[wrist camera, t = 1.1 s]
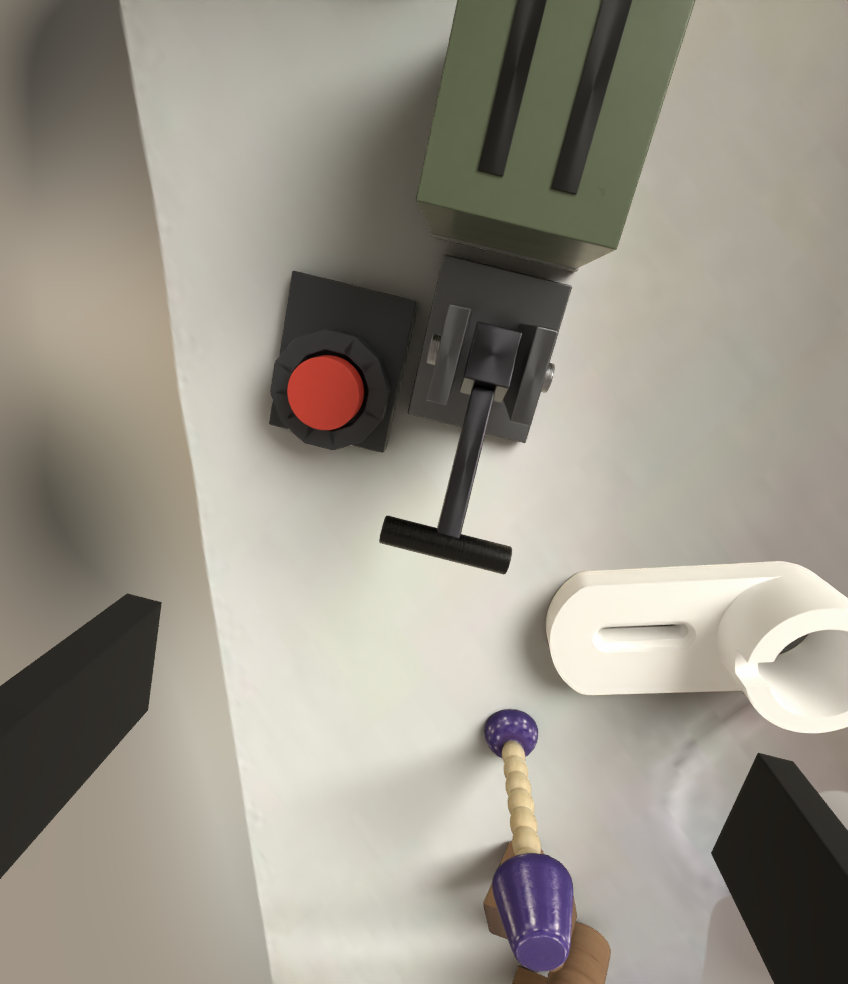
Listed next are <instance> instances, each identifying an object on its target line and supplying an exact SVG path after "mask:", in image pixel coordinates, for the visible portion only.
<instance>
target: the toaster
mask: <svg viewBox="0 0 848 984" xmlns="http://www.w3.org/2000/svg"><path fill="white" fill-rule="evenodd" d="M694 3H695V0H457V5H456V10H455V14H454V19H453V24H452V29H451V34H450V38H449V43H448V48H447V53H446V58H445V62H444V67H443V72H442V77H441V82H440V87H439V91H438V96H437V101H436V106H435V111H434V115H433V120H432V125H431V130H430V135H429V139H428V144H427V149H426V154H425V159H424V163H423V168H422V173H421V178H420V183H419V187H418V192H417V197H416V201H417V203H418V205H419V207H420V209H421V211H422V213H423V215H424V217H425V219H426V221H427V223H428V225H429V227H430V229H431V236H432V237H435V238H439V239H443V240H447V241H451V242H455V243H459V244H463V245H467V246H471V247H475V248H479V249H483V250H488V251H492V252H496V253H500V254H504V255H508V256H512V257H516V258H520V259H524V260H528V261H532V262H536V263H540V264H544V265H548V266H552V267H556V268H560V269H564V270H569V271H573V272H576V271H578V268H579V267H581V266H583V265H585V264H587V263H589V262H591V261H593V260H595V259H597V258H600V257H602V256H604V255H606V254H608V253H610V252H612V251H614V250H616V249H617V247H618V244H619V240H620V237H621V234H622V231H623V228H624V225H625V221H626V218H627V215H628V212H629V209H630V206H631V202H632V199H633V196H634V193H635V190H636V187H637V183H638V180H639V177H640V174H641V171H642V168H643V164H644V161H645V158H646V155H647V152H648V149H649V145H650V142H651V139H652V136H653V133H654V130H655V126H656V123H657V120H658V117H659V114H660V111H661V107H662V104H663V101H664V98H665V95H666V92H667V88H668V85H669V82H670V79H671V76H672V73H673V70H674V66H675V63H676V60H677V57H678V54H679V51H680V47H681V44H682V41H683V38H684V35H685V32H686V28H687V25H688V22H689V19H690V16H691V13H692V9H693V6H694Z"/></svg>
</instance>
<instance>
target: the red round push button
mask: <svg viewBox="0 0 848 984" xmlns="http://www.w3.org/2000/svg"><path fill="white" fill-rule="evenodd" d="M287 393H288V400H289V404H290V406H291V408H292V410H293V412H294V414H295V415H296V416H297V417H298V418H299V419H300V420H301V421H302V422H303V423H304V424H306V425H308V426H310V427H312V428H315V429H319V430H332V429H336V428H339V427H341V426H343V425H344V424H346V423H347V422H348V421H349V420H351V419H352V418H353V417H354V416H355V415H356V414H357V413H358V411H359V410H360V408H361V405H362V403H363V399H364V386H363V382H362V379H361V377H360V375H359V373H358V371H357V370H356V369H355V368H354V366H353V365H351V364H350V363H349V362H348V361H346V360H345V359H342V358H340V357H337V356H332V355H323V356H319V357H314V358H311V359H308V360H306V361H304V362H302V363H301V364H300V365H298V367H297V368H296V369H295V370H294V371H293V373H292V375H291V377H290V379H289V383H288V389H287Z"/></svg>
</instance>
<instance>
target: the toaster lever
mask: <svg viewBox="0 0 848 984" xmlns="http://www.w3.org/2000/svg"><path fill="white" fill-rule="evenodd" d="M522 335H523V334H522V332H518V331H514V330H510V329H506V328H502V327H498V326H494V325H490V324H486V323H482V322H477V324H476V328H475V332H474V335H473V339H472V343H471V347H470V351H469V355H468V359H467V363H466V367H465V371H464V375H463V379H462V383H461V387H460V392H461V393H464V394H468V395H470V398H469V402H468V406H467V410H466V414H465V418H464V422H463V426H462V430H461V434H460V438H459V442H458V446H457V450H456V454H455V458H454V462H453V466H452V470H451V474H450V478H449V482H448V486H447V490H446V494H445V498H444V502H443V506H442V510H441V514H440V518H439V522H438V526H437V528H435V527H431V526H427V525H423V524H419V523H415V522H411V521H407V520H403V519H399V518H395V517H391V516H386V517H385V519H384V523H383V526H382V530H381V534H380V539H379V542H380V543H382V544H386V545H390V546H394V547H398V548H402V549H405V550H409V551H413V552H417V553H421V554H425V555H429V556H433V557H437V558H441V559H445V560H449V561H453V562H457V563H461V564H465V565H469V566H473V567H477V568H480V569H484V570H488V571H492V572H496V573H500V574H506V572H507V570H508V568H509V564H510V561H511V555H512V548H511V547H510V546H506V545H502V544H498V543H494V542H490V541H486V540H482V539H478V538H475V537H471V536H467V535H463V534H461V532H462V527H463V523H464V519H465V515H466V511H467V507H468V503H469V499H470V494H471V490H472V486H473V482H474V478H475V474H476V470H477V466H478V461H479V457H480V453H481V449H482V445H483V441H484V437H485V433H486V429H487V424H488V420H489V416H490V412H491V408H492V404H493V401H496V402H502V401H503V399H504V397H505V395H506V394H507V392H508V390H509V388H510V385H511V381H512V376H513V372H514V368H515V364H516V360H517V356H518V351H519V347H520V343H521V339H522Z"/></svg>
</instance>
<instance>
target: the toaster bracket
mask: <svg viewBox="0 0 848 984" xmlns="http://www.w3.org/2000/svg"><path fill="white" fill-rule="evenodd" d="M571 289H572V286H570V285H566V284H562V283H558V282H554V281H550V280H546V279H542V278H538V277H534V276H530V275H526V274H522V273H518V272H513V271H509V270H505V269H501V268H497V267H493V266H489V265H485V264H481V263H477V262H473V261H469V260H465V259H461V258H457V257H453V256H449V255H444V256H443V261H442V265H441V269H440V274H439V278H438V282H437V287H436V291H435V296H434V300H433V304H432V309H431V313H430V317H429V322H428V326H427V331H426V335H425V339H424V344H423V348H422V352H421V357H420V361H419V366H418V370H417V374H416V379H415V383H414V388H413V392H412V396H411V401H410V405H409V409H408V414H411V415H415V416H419V417H423V418H427V419H431V420H435V421H439V422H443V423H447V424H451V425H455V426H458V427H462V426H463V422H464V418H465V414H466V410H467V406H468V402H469V398H470V395H468V394H464V393H461V392H460V387H461V383H462V379H463V375H464V371H465V367H466V363H467V359H468V355H469V351H470V347H471V343H472V339H473V335H474V332H475V328H476V324H477V322H482V323H486V324H490V325H494V326H498V327H502V328H506V329H510V330H514V331H518V332H522V334H523V335H522V339H521V343H520V347H519V351H518V356H517V360H516V364H515V368H514V372H513V376H512V381H511V385H510V388H509V390H508V392H507V394H506V395H505V397H504V399H503V401H502V402H496V401H493V404H492V408H491V412H490V416H489V420H488V424H487V429H486V434H490V435H494V436H498V437H502V438H506V439H510V440H514V441H518V442H522V443H525V442H526V439H527V436H528V432H529V429H530V426H531V423H532V419H533V416H534V413H535V409H536V406H537V403H538V399H539V396H540V393H541V392H547V391H548V389H549V387H550V384H551V382H552V378H553V374H554V369H555V365H554V364H552V363H550V359H551V356H552V353H553V349H554V346H555V343H556V339H557V336H558V332H559V329H560V325H561V322H562V319H563V315H564V312H565V309H566V305H567V302H568V299H569V295H570V292H571Z"/></svg>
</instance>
